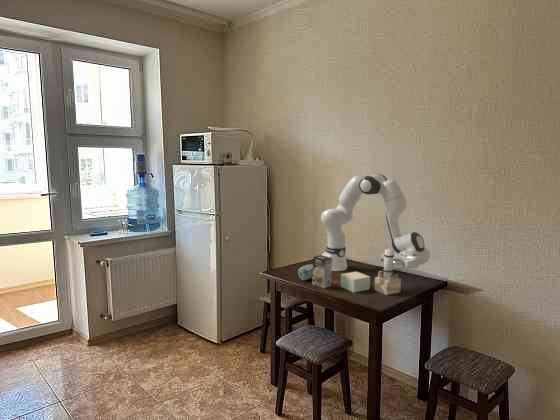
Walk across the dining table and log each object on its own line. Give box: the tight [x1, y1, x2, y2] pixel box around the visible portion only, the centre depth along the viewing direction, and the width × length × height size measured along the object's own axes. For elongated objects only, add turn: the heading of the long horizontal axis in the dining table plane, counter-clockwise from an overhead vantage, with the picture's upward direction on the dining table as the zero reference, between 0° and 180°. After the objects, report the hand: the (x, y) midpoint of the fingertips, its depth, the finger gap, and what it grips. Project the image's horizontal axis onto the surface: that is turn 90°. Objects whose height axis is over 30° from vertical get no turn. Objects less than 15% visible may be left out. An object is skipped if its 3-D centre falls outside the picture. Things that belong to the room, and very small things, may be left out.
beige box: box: [340, 271, 371, 293], centre depth 211 cm, size 11×11×7 cm
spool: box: [297, 263, 313, 282], centre depth 226 cm, size 14×10×10 cm
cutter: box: [331, 279, 342, 288], centre depth 214 cm, size 14×6×1 cm, turn 50°
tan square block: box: [373, 270, 402, 296], centre depth 206 cm, size 9×10×10 cm
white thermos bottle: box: [382, 249, 395, 279], centre depth 205 cm, size 5×5×15 cm
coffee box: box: [311, 254, 333, 289], centre depth 214 cm, size 9×6×16 cm
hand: (387, 261), depth 204 cm, fingers open, 8 cm apart
